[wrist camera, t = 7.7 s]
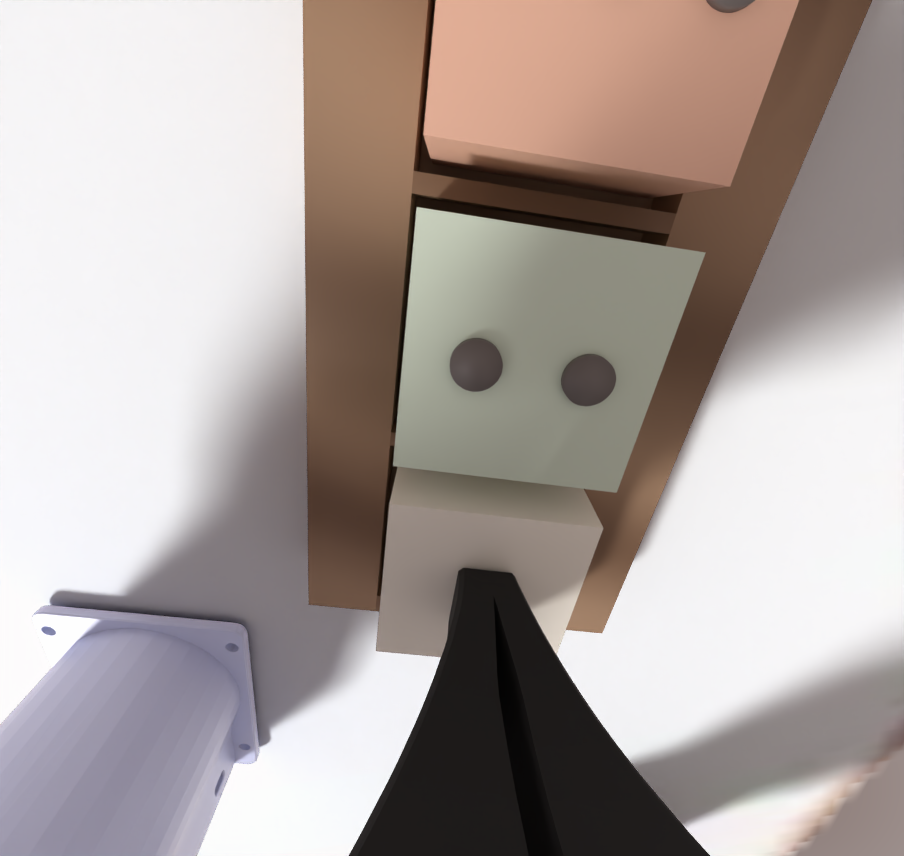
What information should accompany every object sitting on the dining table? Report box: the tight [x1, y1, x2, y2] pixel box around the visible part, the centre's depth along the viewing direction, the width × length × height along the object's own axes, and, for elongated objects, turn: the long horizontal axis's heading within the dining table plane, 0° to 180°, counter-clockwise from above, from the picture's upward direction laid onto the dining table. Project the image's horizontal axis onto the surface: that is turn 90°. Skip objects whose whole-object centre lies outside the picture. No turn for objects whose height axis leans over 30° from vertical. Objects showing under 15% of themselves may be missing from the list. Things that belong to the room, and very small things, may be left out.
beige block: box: [376, 467, 603, 657], centre depth 12 cm, size 5×5×3 cm
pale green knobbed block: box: [393, 207, 705, 493], centre depth 9 cm, size 5×5×3 cm
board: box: [303, 0, 872, 633], centre depth 11 cm, size 19×10×2 cm, turn 172°
